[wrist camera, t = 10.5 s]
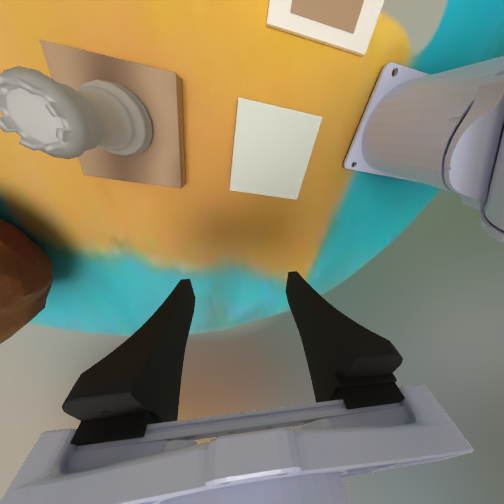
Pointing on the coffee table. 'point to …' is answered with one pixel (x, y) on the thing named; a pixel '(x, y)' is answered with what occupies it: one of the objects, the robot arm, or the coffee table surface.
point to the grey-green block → (271, 149)
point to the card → (327, 21)
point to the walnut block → (155, 102)
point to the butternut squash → (21, 279)
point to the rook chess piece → (72, 115)
